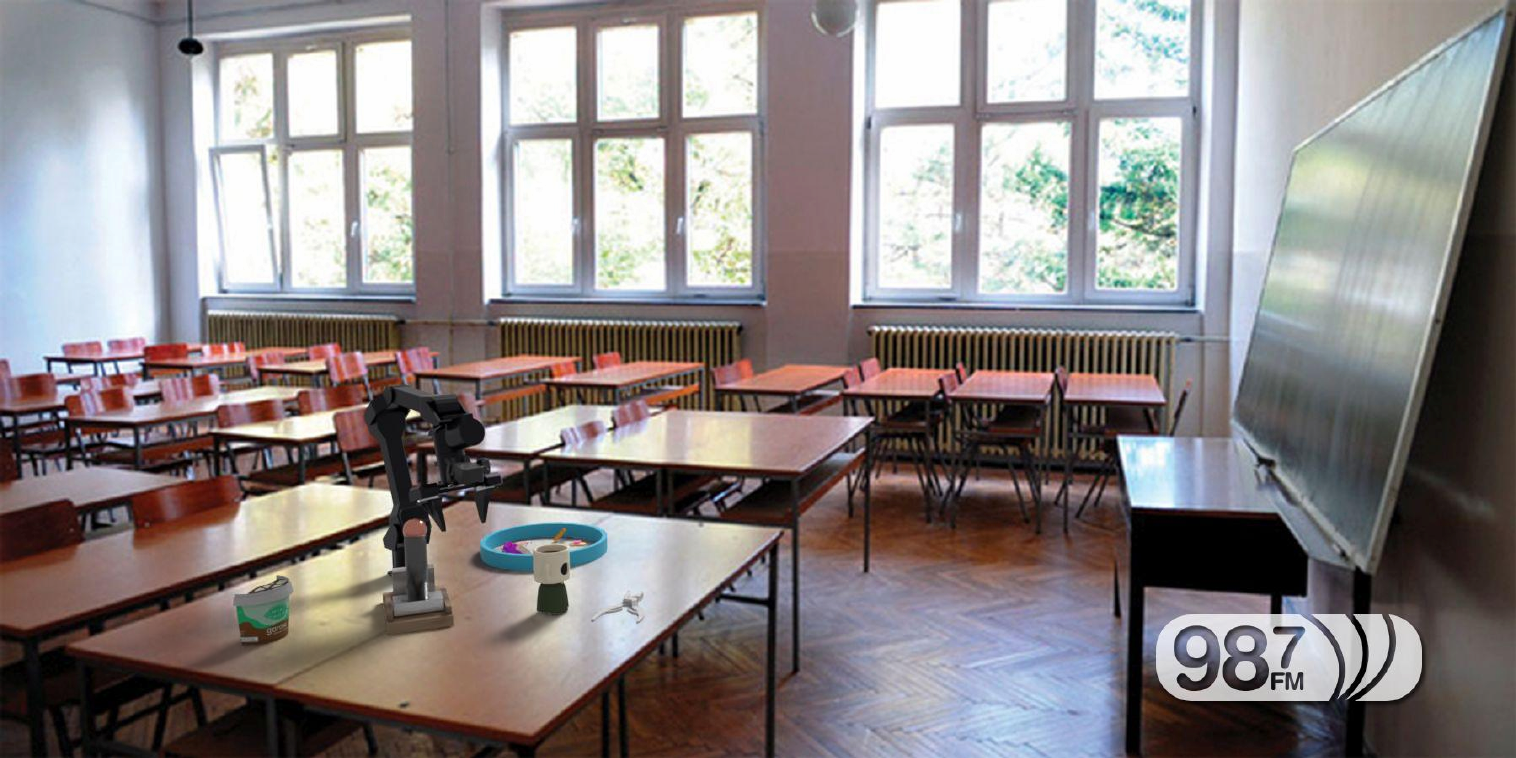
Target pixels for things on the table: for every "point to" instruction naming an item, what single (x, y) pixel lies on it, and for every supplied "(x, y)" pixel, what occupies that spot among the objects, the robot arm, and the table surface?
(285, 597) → the food container
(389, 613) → the board
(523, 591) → the table surface
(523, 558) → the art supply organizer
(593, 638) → the table surface
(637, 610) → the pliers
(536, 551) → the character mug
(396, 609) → the handle
